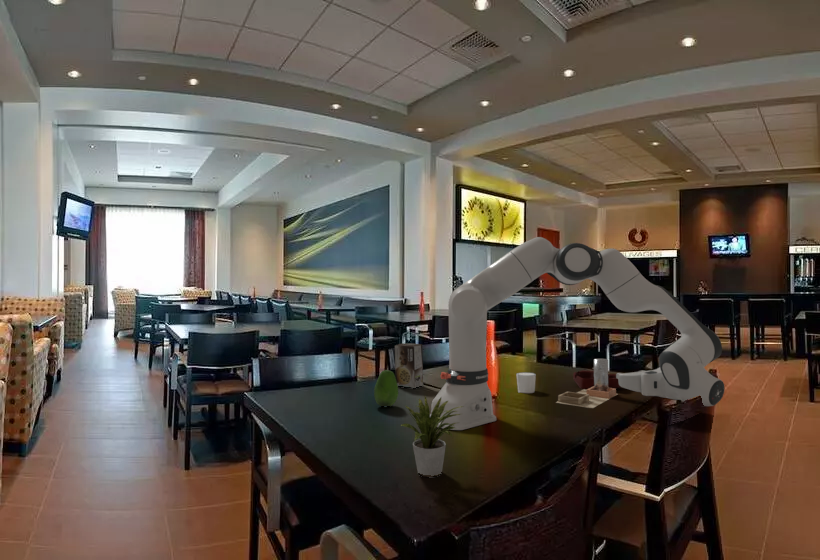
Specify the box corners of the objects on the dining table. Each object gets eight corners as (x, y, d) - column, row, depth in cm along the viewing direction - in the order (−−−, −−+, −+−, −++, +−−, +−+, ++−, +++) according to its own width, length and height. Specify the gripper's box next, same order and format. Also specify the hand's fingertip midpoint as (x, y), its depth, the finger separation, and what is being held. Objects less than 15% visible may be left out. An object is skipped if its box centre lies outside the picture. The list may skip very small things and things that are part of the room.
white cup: (538, 395, 176) (537, 375, 176) (518, 395, 176) (518, 375, 176) (533, 391, 183) (533, 371, 183) (514, 391, 183) (514, 372, 183)
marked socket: (608, 398, 167) (608, 392, 167) (586, 395, 172) (586, 389, 172) (616, 394, 173) (616, 388, 173) (594, 391, 177) (594, 385, 177)
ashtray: (560, 388, 188) (560, 374, 188) (583, 381, 199) (583, 369, 199) (606, 396, 175) (606, 381, 175) (628, 389, 186) (628, 375, 186)
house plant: (451, 493, 97) (450, 408, 97) (386, 483, 102) (385, 402, 102) (470, 467, 110) (470, 392, 110) (411, 459, 115) (411, 388, 115)
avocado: (398, 409, 159) (397, 371, 159) (373, 410, 159) (372, 372, 159) (398, 403, 167) (398, 367, 167) (375, 403, 167) (374, 367, 167)
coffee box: (423, 386, 194) (423, 344, 194) (415, 389, 189) (414, 346, 189) (403, 383, 199) (403, 342, 199) (394, 386, 193) (394, 344, 193)
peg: (606, 396, 169) (606, 361, 169) (592, 395, 172) (592, 360, 172) (609, 394, 173) (609, 359, 173) (596, 392, 175) (595, 358, 175)
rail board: (592, 410, 155) (592, 401, 155) (555, 404, 163) (555, 396, 163) (618, 396, 174) (618, 388, 173) (583, 391, 181) (583, 383, 181)
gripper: (690, 368, 153) (652, 361, 165) (641, 374, 144) (605, 366, 157) (691, 389, 153) (652, 381, 165) (641, 396, 145) (605, 387, 157)
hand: (628, 374), depth 161 cm, fingers open, 8 cm apart
